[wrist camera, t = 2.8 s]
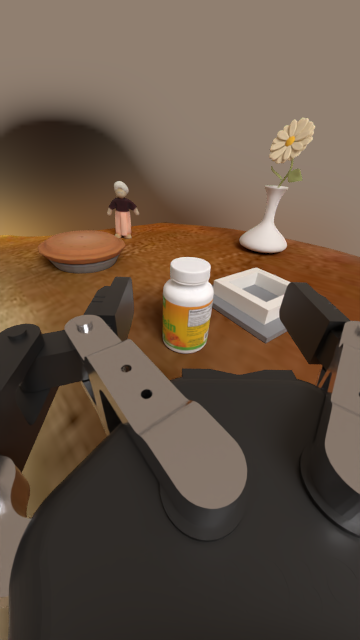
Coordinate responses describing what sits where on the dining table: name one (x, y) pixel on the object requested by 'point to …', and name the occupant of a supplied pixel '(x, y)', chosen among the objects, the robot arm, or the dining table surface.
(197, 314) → the supplement bottle
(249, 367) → the dining table surface
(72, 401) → the dining table surface
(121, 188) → the grandmother figurine
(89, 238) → the pie
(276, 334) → the socket plate
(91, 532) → the robot arm
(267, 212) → the flower in vase
